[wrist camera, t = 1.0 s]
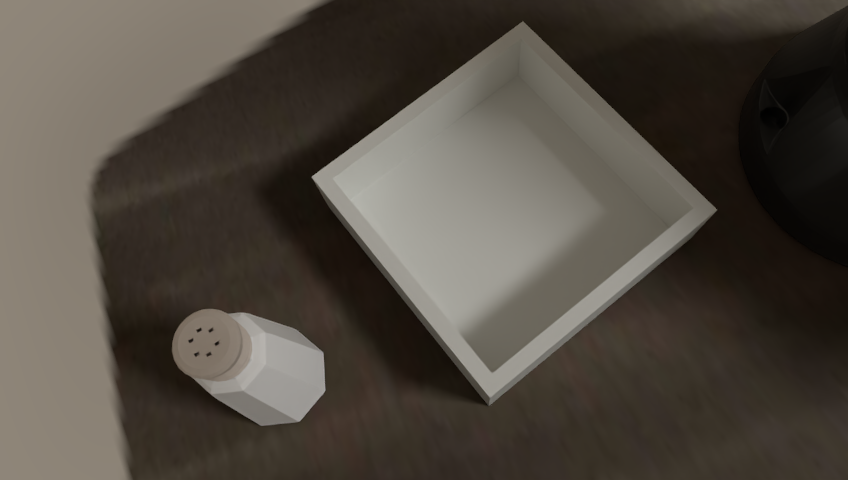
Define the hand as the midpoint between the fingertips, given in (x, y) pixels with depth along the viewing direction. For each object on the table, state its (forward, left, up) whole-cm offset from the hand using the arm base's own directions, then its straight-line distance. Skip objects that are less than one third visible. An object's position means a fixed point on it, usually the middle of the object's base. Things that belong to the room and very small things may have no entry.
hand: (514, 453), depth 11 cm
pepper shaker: (+6, -11, -26) cm, 29 cm away
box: (-9, -10, -26) cm, 29 cm away
